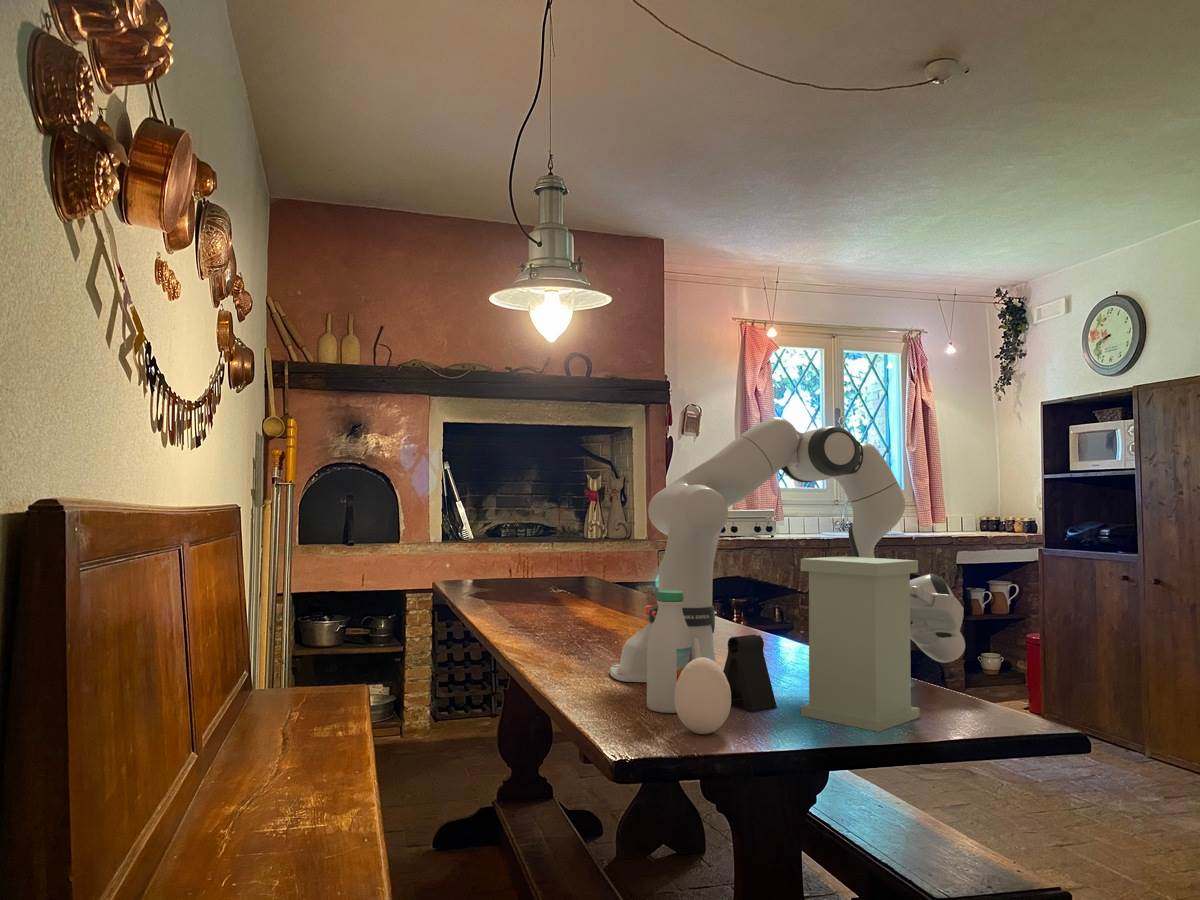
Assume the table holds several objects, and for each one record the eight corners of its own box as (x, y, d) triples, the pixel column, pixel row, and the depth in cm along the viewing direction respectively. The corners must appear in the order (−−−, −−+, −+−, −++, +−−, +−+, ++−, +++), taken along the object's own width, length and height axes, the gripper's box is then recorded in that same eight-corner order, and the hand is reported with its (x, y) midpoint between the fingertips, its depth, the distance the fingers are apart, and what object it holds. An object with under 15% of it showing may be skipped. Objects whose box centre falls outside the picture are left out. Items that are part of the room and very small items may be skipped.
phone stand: (776, 708, 149) (776, 638, 150) (752, 712, 146) (752, 640, 146) (739, 698, 156) (739, 631, 157) (715, 702, 153) (715, 634, 154)
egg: (671, 725, 136) (672, 652, 137) (726, 726, 136) (726, 653, 137) (677, 740, 127) (677, 662, 128) (735, 741, 128) (736, 663, 128)
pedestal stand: (843, 702, 154) (843, 556, 156) (919, 717, 144) (917, 560, 146) (800, 715, 144) (800, 558, 146) (878, 731, 134) (877, 563, 136)
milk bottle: (661, 716, 142) (662, 593, 144) (638, 706, 149) (639, 589, 150) (700, 711, 146) (701, 592, 147) (676, 702, 153) (677, 588, 154)
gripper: (876, 599, 186) (847, 570, 178) (972, 608, 172) (945, 576, 164) (869, 626, 184) (840, 597, 176) (965, 637, 169) (938, 607, 161)
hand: (891, 587), depth 170 cm, fingers open, 8 cm apart
